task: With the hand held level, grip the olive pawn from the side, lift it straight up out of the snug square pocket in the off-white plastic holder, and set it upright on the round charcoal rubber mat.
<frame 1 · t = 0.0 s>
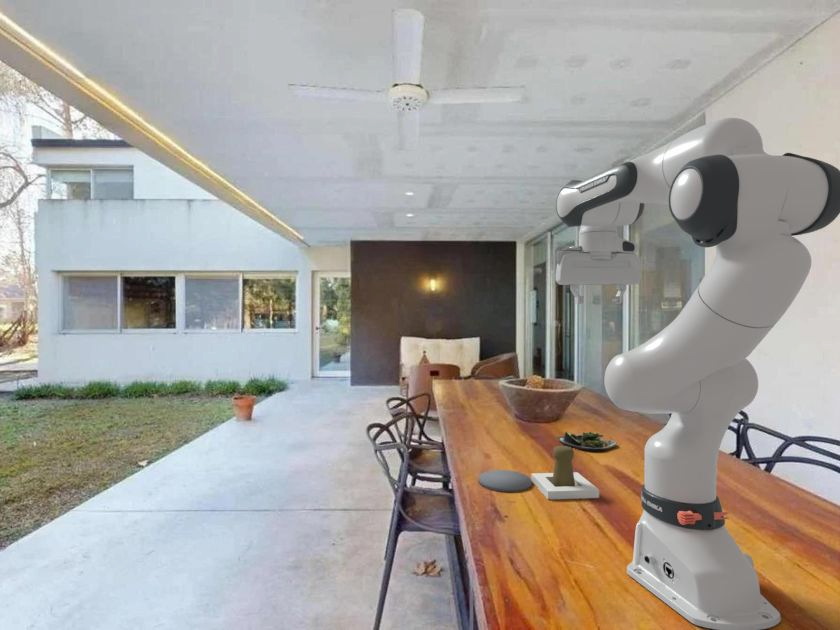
hand: (598, 303, 112), 48 cm above the table, tool pointing down, fingers open, 8 cm apart
salad plate: (585, 446, 163), on the table
olive pawn: (563, 489, 121), resting in pocket holder
charcoal mat: (504, 482, 126), on the table
pocket holder: (563, 488, 121), on the table
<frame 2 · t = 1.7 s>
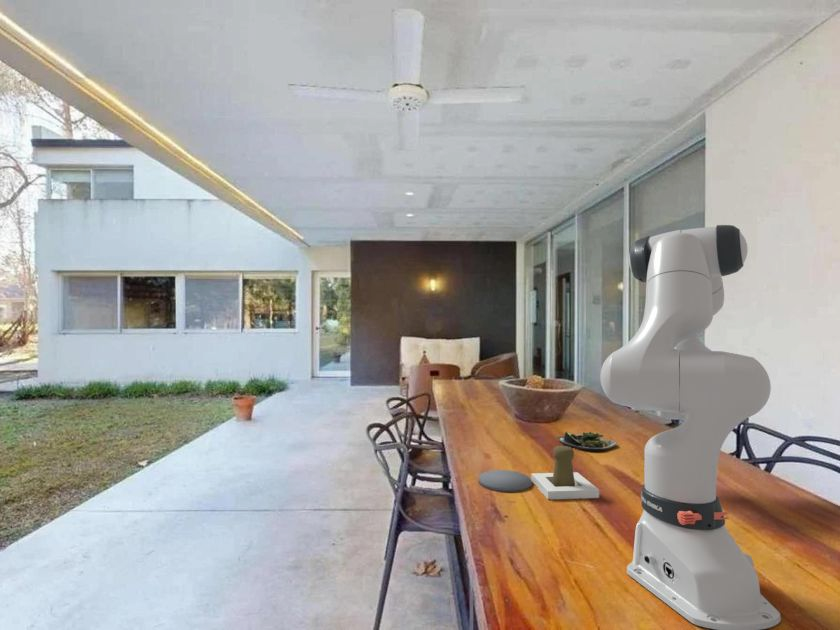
hand: (622, 403, 122), 22 cm above the table, tool horizontal, fingers open, 8 cm apart
nothing on the table moved.
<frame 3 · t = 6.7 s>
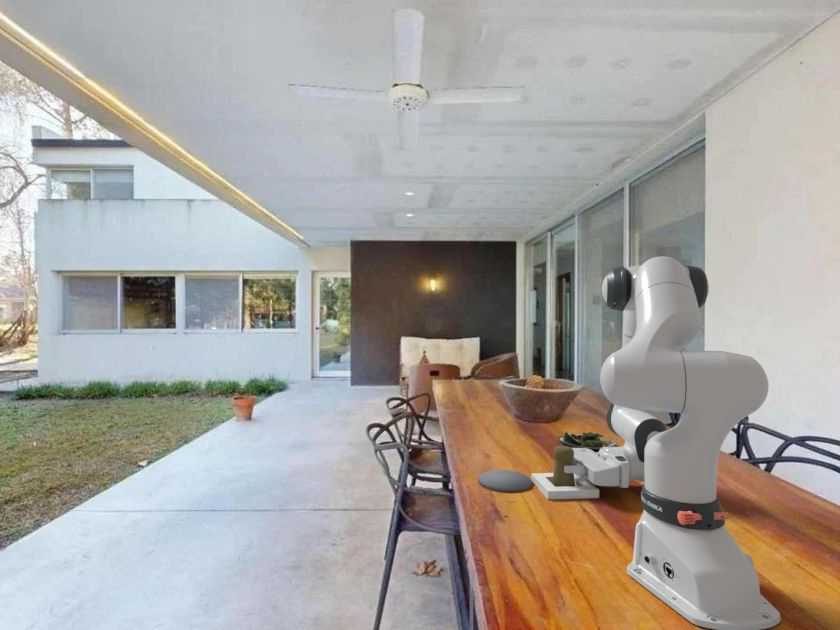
hand: (559, 465, 121), 6 cm above the table, tool horizontal, fingers closed on olive pawn, 4 cm apart
olive pawn: (563, 489, 121), resting in pocket holder, touching gripper
everything else where it was.
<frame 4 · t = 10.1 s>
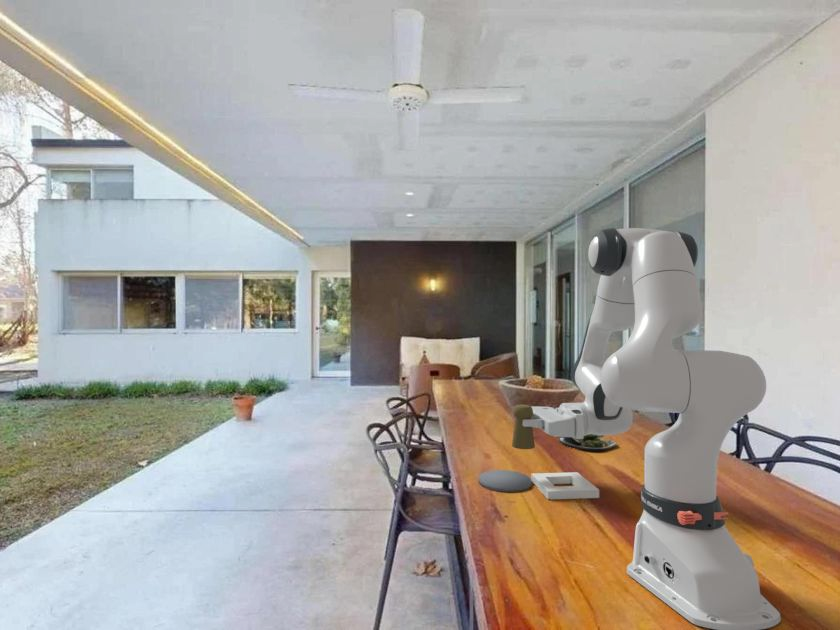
hand: (519, 420, 125), 17 cm above the table, tool horizontal, fingers closed on olive pawn, 4 cm apart
olive pawn: (523, 446, 124), point 10 cm above the table, touching gripper
everything else where it was.
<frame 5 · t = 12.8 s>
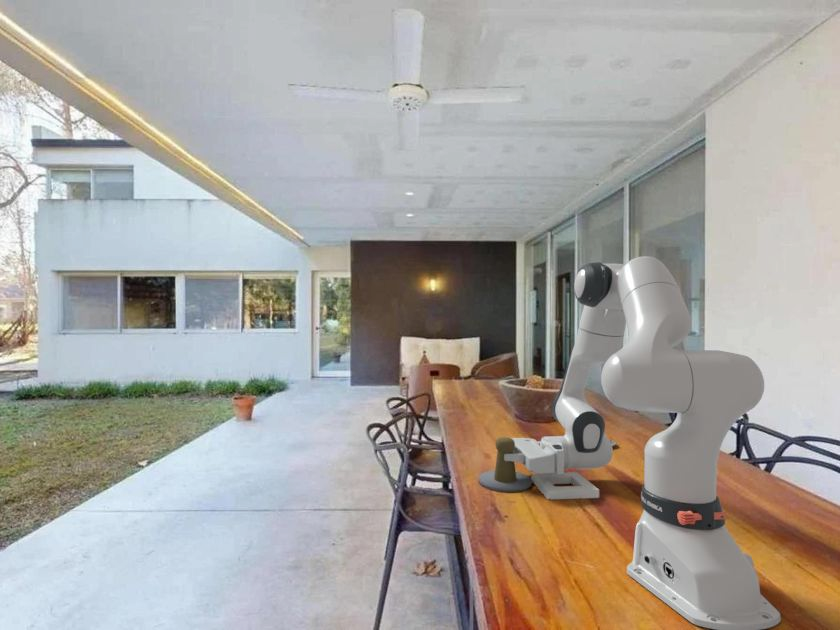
hand: (501, 454, 126), 8 cm above the table, tool horizontal, fingers closed on olive pawn, 4 cm apart
olive pawn: (505, 479, 126), point 1 cm above the table, touching charcoal mat, gripper
everything else where it was.
when the fingers open (8 cm above the table, at t = 13.4 s): olive pawn stays where it is, resting on charcoal mat.
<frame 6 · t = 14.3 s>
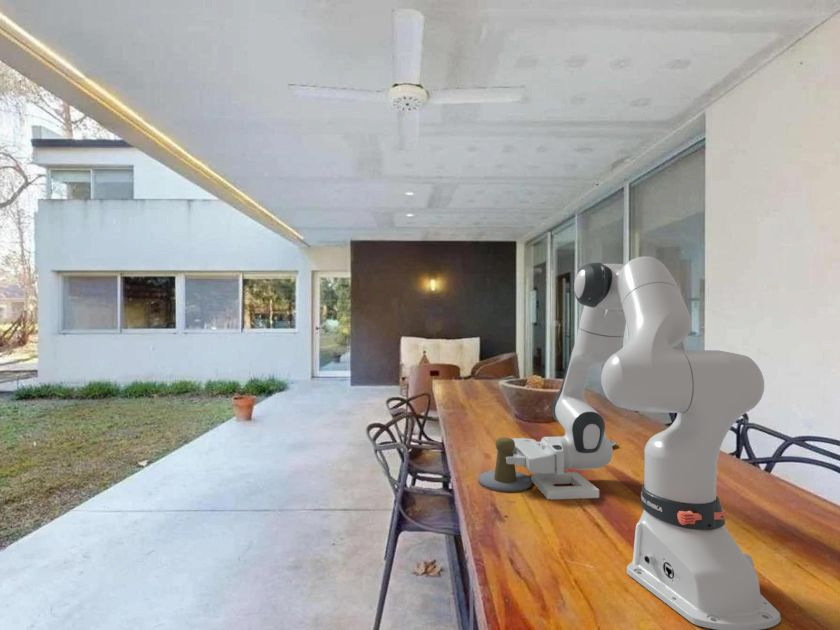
hand: (501, 454, 126), 8 cm above the table, tool horizontal, fingers open, 8 cm apart
olive pawn: (505, 479, 126), point 1 cm above the table, touching charcoal mat
everything else where it was.
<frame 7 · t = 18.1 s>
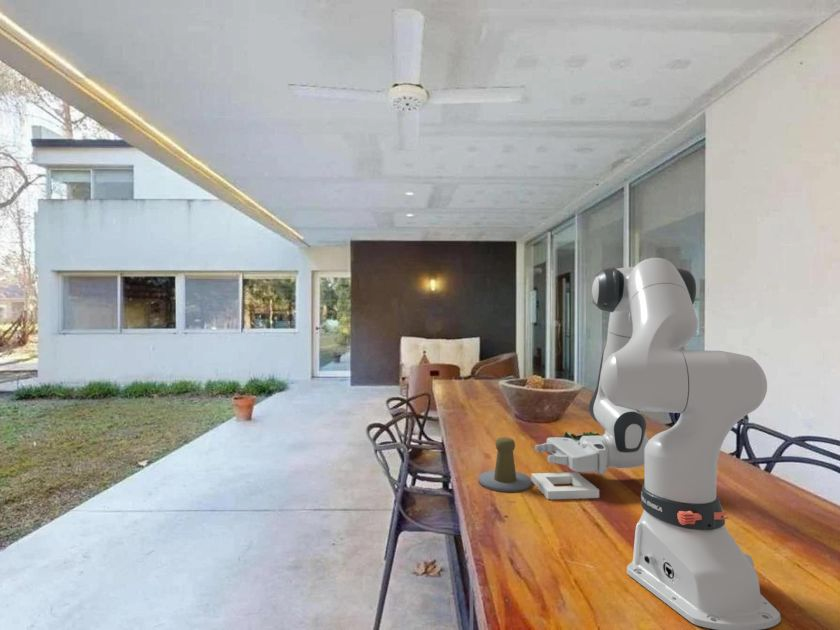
hand: (541, 453, 127), 8 cm above the table, tool horizontal, fingers open, 8 cm apart
nothing on the table moved.
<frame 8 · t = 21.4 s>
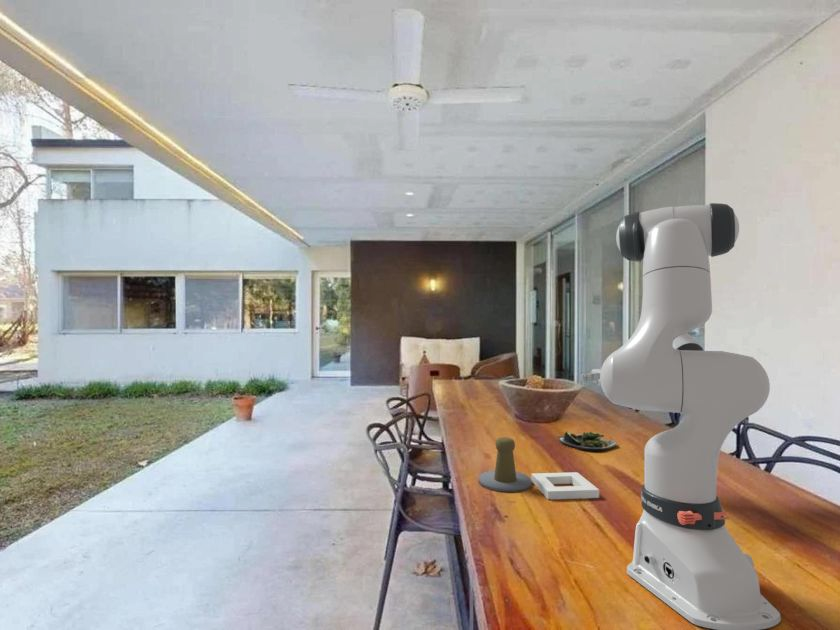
hand: (589, 379, 124), 28 cm above the table, tool horizontal, fingers open, 8 cm apart
nothing on the table moved.
at the end: olive pawn inside the target area on the charcoal mat (0.3 cm from its centre), point 0.8 cm above the charcoal mat's base; olive pawn tilted 0°; olive pawn touching charcoal mat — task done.
